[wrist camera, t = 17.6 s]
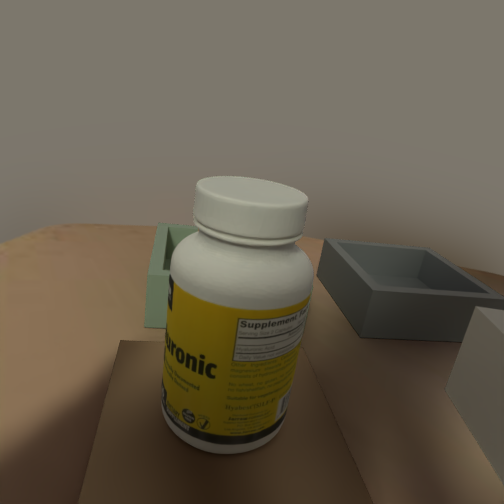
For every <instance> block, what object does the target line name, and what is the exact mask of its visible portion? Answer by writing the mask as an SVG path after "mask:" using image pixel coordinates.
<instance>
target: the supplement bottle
mask: <svg viewBox="0 0 504 504" xmlns="http://www.w3.org/2000/svg"><path fill="white" fill-rule="evenodd" d="M308 202H309V201H308V197H307V196H306V195H305V194H304V193H303V192H301V191H299V190H297V189H295V188H292V187H289V186H286V185H283V184H279V183H276V182H271V181H267V180H261V179H254V178H248V177H235V176H216V177H208V178H204V179H201V180H199V181H198V182H197V184H196V190H195V202H194V209H193V215H194V219H193V220H194V224H195V225H196V227H197V228H198V229H199V231H198V232H195V233H193V234H191V235H189V236H187V237H186V238H184V239H183V240H182V241H181V242H180V243H179V244H178V245H177V246H176V248H175V250H174V252H173V254H172V258H171V266H170V275H169V292H168V305H167V320H166V335H165V349H164V363H163V377H162V395H161V404H162V411H163V415H164V418H165V420H166V422H167V424H168V425H169V427H170V428H171V429H172V431H173V432H174V433H175V434H176V435H177V436H178V437H180V438H181V439H182V440H183V441H185V442H186V443H188V444H190V445H192V446H194V447H196V448H198V449H200V450H203V451H207V452H211V453H218V454H236V453H242V452H247V451H250V450H253V449H256V448H258V447H260V446H262V445H264V444H266V443H267V442H269V441H270V440H271V439H272V438H273V437H274V436H275V435H276V434H277V433H278V431H279V430H280V428H281V426H282V424H283V422H284V419H285V415H286V412H287V407H288V402H289V398H290V393H291V388H292V383H293V378H294V374H295V369H296V364H297V359H298V354H299V349H300V344H301V339H302V335H303V329H304V325H305V320H306V314H307V310H308V305H309V300H310V296H311V291H312V284H313V278H314V272H313V267H312V263H311V261H310V259H309V258H308V256H307V255H306V254H305V252H304V251H303V250H302V249H300V248H299V247H298V246H297V245H295V242H296V241H298V240H299V239H300V238H301V237H302V235H303V229H304V226H305V220H306V213H307V208H308Z"/></svg>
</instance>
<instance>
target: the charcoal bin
mask: <svg viewBox="0 0 504 504" xmlns="http://www.w3.org/2000/svg"><path fill="white" fill-rule="evenodd" d="M317 276H318V278H319V279H320V281H321V282H322V284H323V285H324V286H325V288H326V289H327V291H328V292H329V294H330V295H331V296H332V298H333V299H334V301H335V302H336V304H337V305H338V306H339V308H340V309H341V311H342V312H343V313H344V315H345V316H346V318H347V319H348V321H349V322H350V323H351V325H352V326H353V328H354V329H355V331H356V332H357V333H358V335H359V336H360V337H363V338H385V339H407V340H428V341H450V342H462V341H463V339H464V336H465V333H466V331H467V328H468V325H469V323H470V320H471V317H472V315H473V312H474V309H475V306H478V307H484V308H491V309H498V310H504V297H503V296H502V295H500V294H499V293H497V292H496V291H494V290H493V289H491V288H490V287H488V286H487V285H485V284H484V283H482V282H481V281H479V280H478V279H476V278H474V277H473V276H471V275H470V274H468V273H467V272H465V271H464V270H462V269H461V268H459V267H458V266H456V265H455V264H453V263H451V262H450V261H448V260H447V259H445V258H444V257H442V256H441V255H439V254H438V253H436V252H435V251H433V250H432V249H430V248H424V247H414V246H403V245H393V244H382V243H370V242H360V241H350V240H338V239H328V238H325V239H324V244H323V248H322V253H321V257H320V262H319V267H318V271H317Z"/></svg>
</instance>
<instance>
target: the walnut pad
mask: <svg viewBox="0 0 504 504" xmlns="http://www.w3.org/2000/svg"><path fill="white" fill-rule="evenodd" d="M164 349H165V342H151V341H126V340H120V343H119V347H118V351H117V355H116V359H115V363H114V366H113V370H112V374H111V378H110V382H109V386H108V389H107V393H106V397H105V401H104V405H103V409H102V412H101V416H100V420H99V424H98V428H97V432H96V435H95V439H94V443H93V447H92V451H91V454H90V458H89V462H88V466H87V470H86V474H85V477H84V481H83V485H82V489H81V493H80V497H79V500H78V504H373V501H372V499H371V497H370V495H369V493H368V490H367V488H366V486H365V484H364V482H363V479H362V477H361V475H360V473H359V470H358V468H357V466H356V464H355V462H354V459H353V457H352V455H351V453H350V451H349V448H348V446H347V444H346V442H345V439H344V437H343V435H342V433H341V431H340V428H339V426H338V424H337V422H336V420H335V417H334V415H333V413H332V411H331V409H330V406H329V404H328V402H327V400H326V397H325V395H324V393H323V391H322V389H321V386H320V384H319V382H318V380H317V378H316V375H315V373H314V371H313V369H312V366H311V364H310V362H309V360H308V358H307V355H306V353H305V351H304V349H303V348H300V349H299V354H298V359H297V364H296V369H295V374H294V378H293V383H292V388H291V393H290V398H289V402H288V407H287V412H286V415H285V419H284V422H283V424H282V426H281V428H280V430H279V431H278V433H277V434H276V435H275V436H274V437H273V438H272V439H271V440H270V441H269V442H267V443H266V444H264V445H262V446H260V447H258V448H256V449H253V450H250V451H247V452H242V453H236V454H218V453H211V452H207V451H203V450H200V449H198V448H196V447H194V446H192V445H190V444H188V443H186V442H185V441H183V440H182V439H181V438H180V437H178V436H177V435H176V434H175V433H174V432H173V431H172V429H171V428H170V427H169V425H168V424H167V422H166V420H165V418H164V415H163V411H162V404H161V395H162V377H163V363H164Z"/></svg>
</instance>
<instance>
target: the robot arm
mask: <svg viewBox="0 0 504 504" xmlns="http://www.w3.org/2000/svg"><path fill="white" fill-rule="evenodd" d="M445 391H446V393H447V394H448V396H449V398H450V399H451V401H452V402H453V404H454V406H455V407H456V409H457V411H458V412H459V414H460V415H461V417H462V419H463V420H464V422H465V423H466V425H467V427H468V428H469V430H470V432H471V433H472V435H473V436H474V438H475V440H476V441H477V443H478V445H479V446H480V448H481V449H482V451H483V453H484V454H485V456H486V457H487V459H488V461H489V462H490V464H491V466H492V467H493V469H494V470H495V472H496V474H497V475H498V477H499V479H500V480H501V482H502V483H503V485H504V310H498V309H491V308H484V307H478V306H475V309H474V312H473V315H472V317H471V320H470V323H469V325H468V328H467V331H466V333H465V336H464V339H463V341H462V344H461V347H460V349H459V352H458V355H457V358H456V360H455V363H454V366H453V368H452V371H451V374H450V376H449V379H448V382H447V384H446V387H445Z"/></svg>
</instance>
